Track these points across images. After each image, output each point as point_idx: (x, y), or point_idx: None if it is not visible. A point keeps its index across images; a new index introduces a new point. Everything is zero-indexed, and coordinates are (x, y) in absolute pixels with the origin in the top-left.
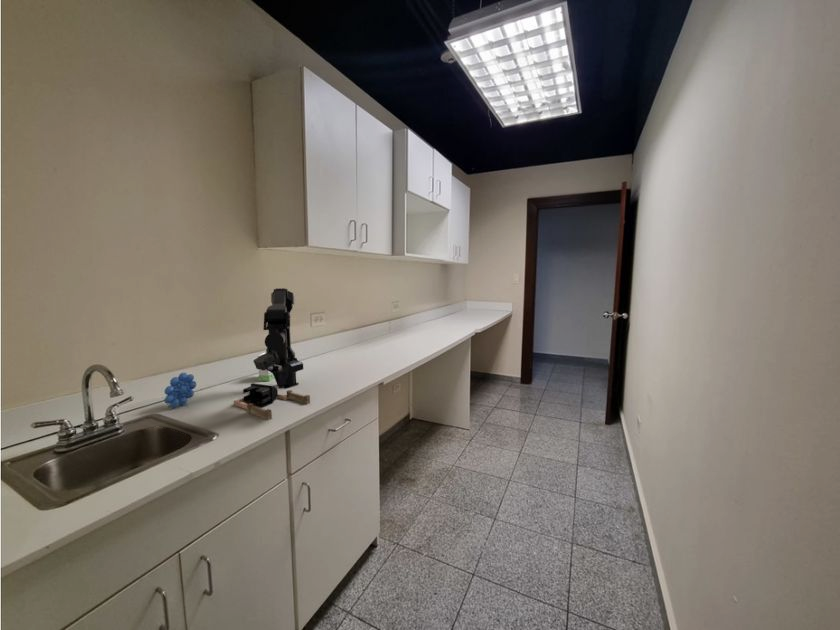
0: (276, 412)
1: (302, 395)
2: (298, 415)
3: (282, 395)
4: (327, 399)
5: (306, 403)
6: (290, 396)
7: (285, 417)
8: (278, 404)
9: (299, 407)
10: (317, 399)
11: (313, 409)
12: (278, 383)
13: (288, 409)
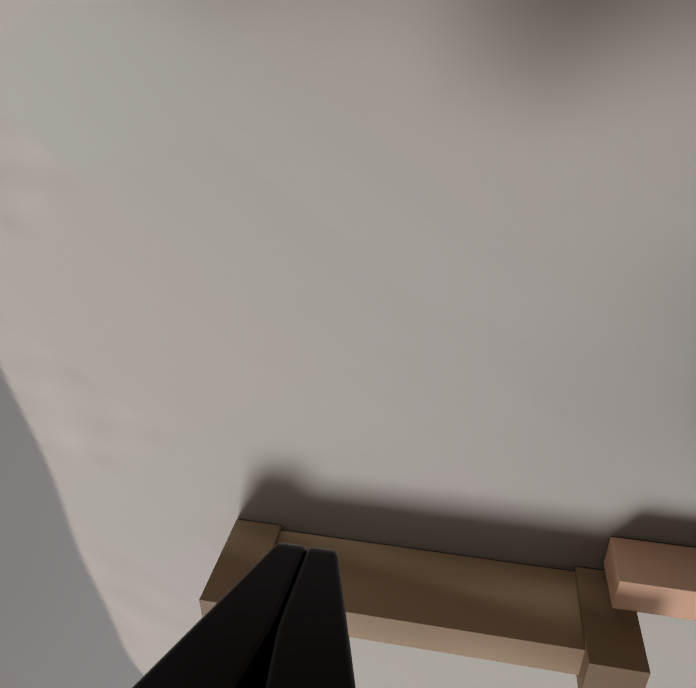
0: (331, 183)
1: None
2: (6, 254)
3: (684, 589)
4: None
5: (241, 526)
6: (559, 602)
7: (60, 122)
8: (571, 401)
9: (227, 430)
10: None
11: (53, 444)
12: (253, 639)
13: (283, 334)
